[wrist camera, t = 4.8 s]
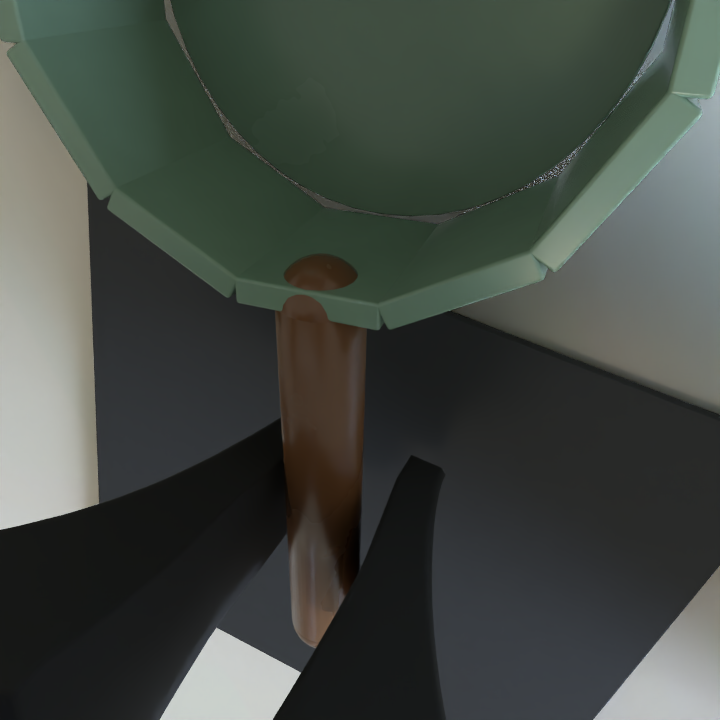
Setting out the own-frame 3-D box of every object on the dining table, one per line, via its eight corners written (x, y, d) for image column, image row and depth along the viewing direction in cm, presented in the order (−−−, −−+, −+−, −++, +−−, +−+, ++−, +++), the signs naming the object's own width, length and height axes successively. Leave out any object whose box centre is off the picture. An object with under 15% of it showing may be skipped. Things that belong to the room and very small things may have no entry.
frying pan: (558, 564, 15) (531, 740, 12) (230, 472, 17) (130, 596, 14) (893, -736, 6) (1202, -1605, 3) (115, -556, 8) (-240, -891, 5)
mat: (808, 449, 11) (810, 456, 11) (532, 788, 19) (531, 795, 19) (92, 173, 14) (86, 175, 14) (105, 562, 22) (101, 566, 22)
